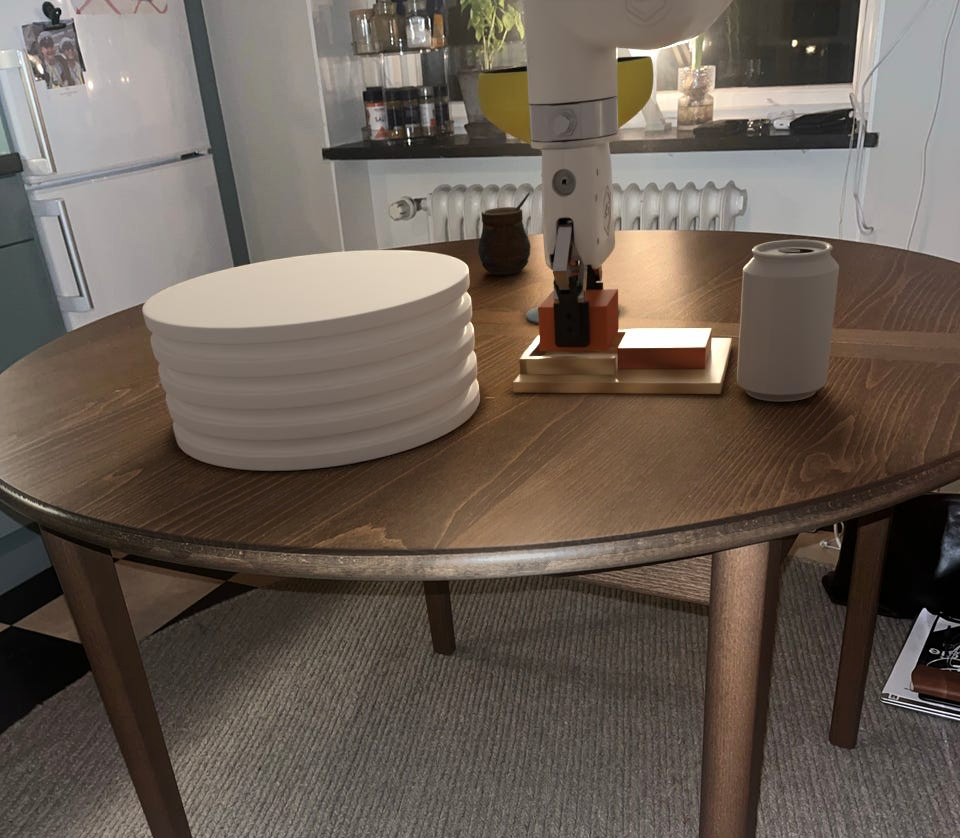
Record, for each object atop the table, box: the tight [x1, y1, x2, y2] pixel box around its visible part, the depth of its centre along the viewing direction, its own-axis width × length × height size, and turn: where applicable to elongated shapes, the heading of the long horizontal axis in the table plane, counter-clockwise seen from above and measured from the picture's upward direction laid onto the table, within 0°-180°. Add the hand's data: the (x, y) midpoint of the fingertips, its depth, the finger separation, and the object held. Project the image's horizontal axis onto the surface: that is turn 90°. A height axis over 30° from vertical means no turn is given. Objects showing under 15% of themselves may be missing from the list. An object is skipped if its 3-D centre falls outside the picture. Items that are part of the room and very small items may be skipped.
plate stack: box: [141, 249, 481, 472], centre depth 87 cm, size 28×28×12 cm
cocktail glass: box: [477, 55, 655, 325], centre depth 106 cm, size 18×18×25 cm
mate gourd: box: [477, 192, 531, 276], centre depth 133 cm, size 7×8×10 cm
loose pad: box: [538, 288, 620, 351], centre depth 92 cm, size 6×6×4 cm
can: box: [736, 239, 840, 403], centre depth 81 cm, size 8×8×12 cm
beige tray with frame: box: [512, 327, 733, 395], centre depth 93 cm, size 19×14×3 cm
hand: (580, 333), depth 93 cm, fingers closed on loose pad, 6 cm apart
